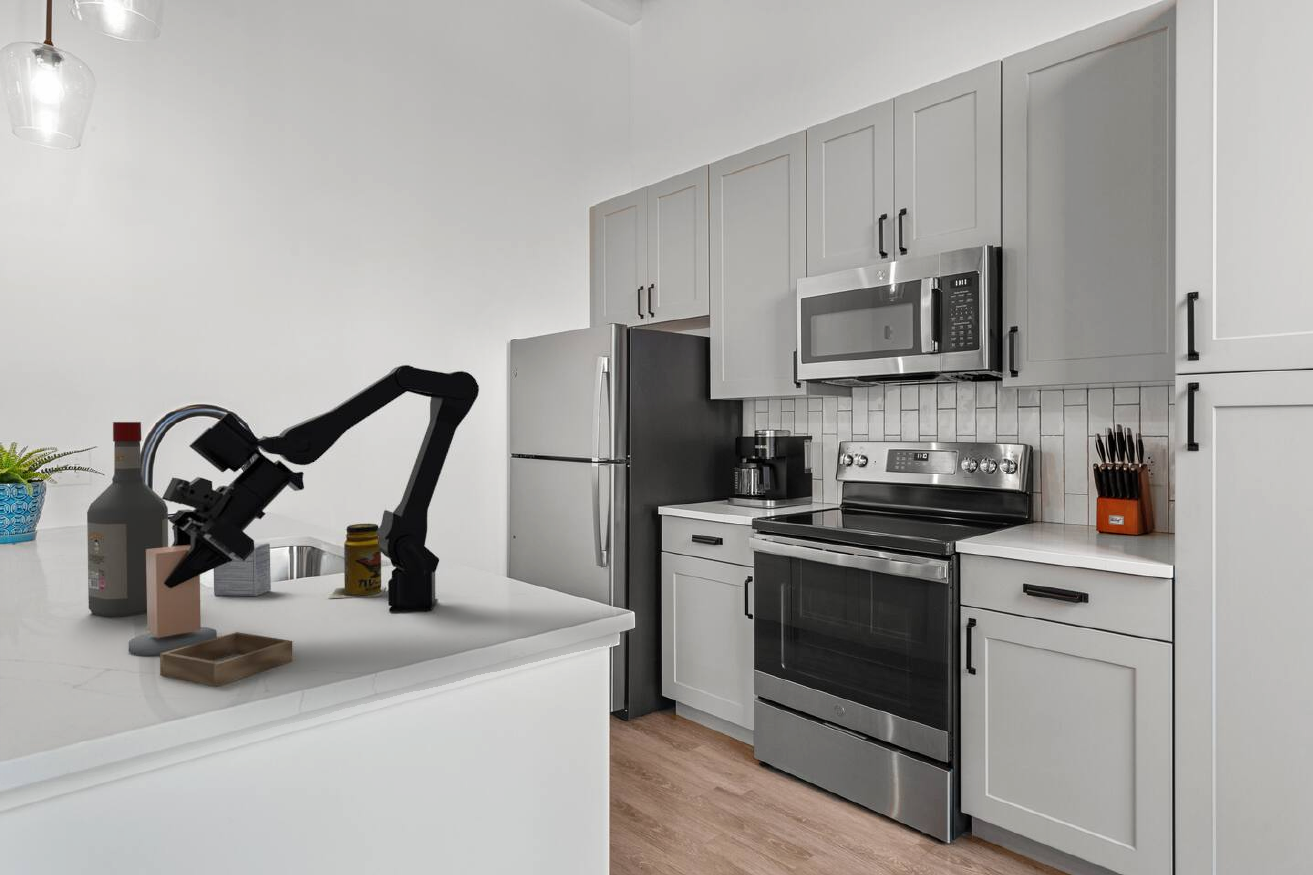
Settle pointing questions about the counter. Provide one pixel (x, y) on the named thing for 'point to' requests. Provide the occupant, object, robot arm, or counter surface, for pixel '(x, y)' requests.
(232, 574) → the grey rectangular block
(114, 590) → the liquor
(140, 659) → the counter surface
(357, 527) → the condiment
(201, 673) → the wooden tray
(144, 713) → the counter surface
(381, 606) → the counter surface
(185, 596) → the tan rectangular block
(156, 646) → the coaster
